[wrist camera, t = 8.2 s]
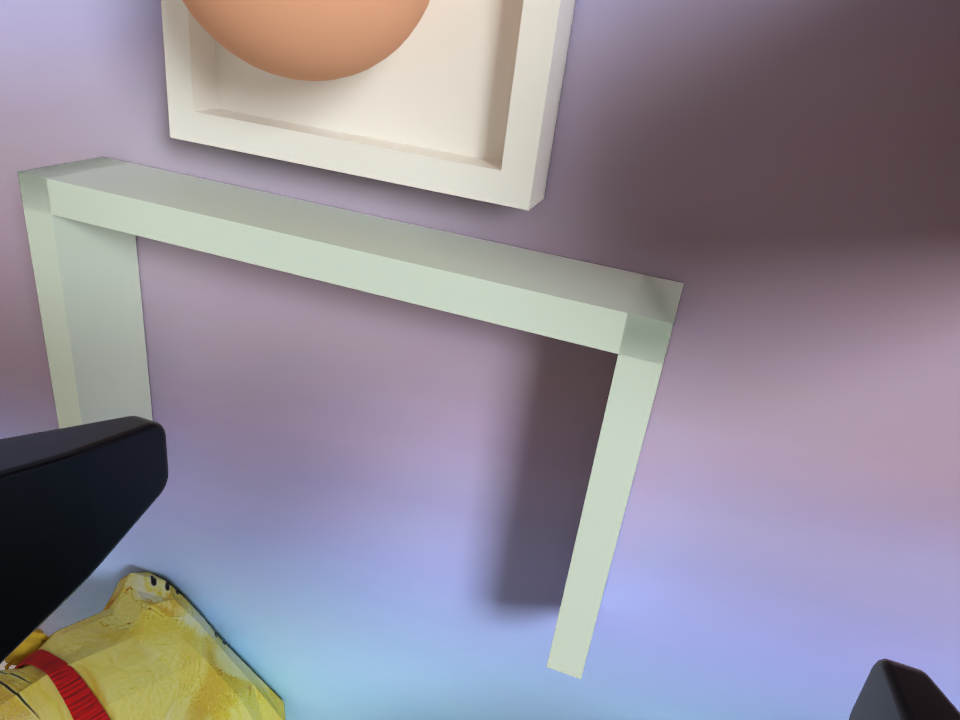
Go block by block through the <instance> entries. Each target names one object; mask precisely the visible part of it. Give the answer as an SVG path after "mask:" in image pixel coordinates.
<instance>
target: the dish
mask: <svg viewBox="0 0 960 720" xmlns="http://www.w3.org/2000/svg"><path fill="white" fill-rule="evenodd" d="M575 2H576V0H430V2H429V5H428V6H427V8H426V10H425V12H424V14H423V16H422V18H421V20H420V21H419V23H418V24H417V26H416V27H415V29H414V30H413V31H412V33H411V34H410V36H409V37H408V38H407V39H406V40H405V41H404V42H403V44H402V45H401V46H400V47H399V48H398V49H397V50H395V51H394V52H393V53H392V54H391V55H389V56H388V57H387V58H386V59H384V60H382V61H381V62H379V63H377V64H376V65H374V66H372V67H371V68H369V69H367V70H365V71H362V72H360V73H358V74H355V75H352V76H348V77H343V78H339V79H335V80H327V81H305V80H294V79H289V78H285V77H281V76H277V75H274V74H271V73H268V72H266V71H263V70H261V69H258V68H256V67H254V66H252V65H250V64H249V63H247V62H245V61H244V60H242V59H240V58H238V57H237V56H235V55H234V54H232V53H231V52H229V51H228V50H227V49H225V48H224V47H223V46H222V45H220V44H219V43H218V42H217V41H216V40H215V39H214V38H213V37H212V36H211V35H210V34H209V33H208V32H207V31H206V30H205V29H204V28H203V27H202V26H201V25H200V24H199V23H198V21H197V20H196V19H195V18H194V17H193V15H192V14H191V13H190V12H189V10H188V8H187V7H186V5H185V4H184V2H183V1H182V0H161V9H162V24H163V39H164V54H165V68H166V83H167V98H168V113H169V127H170V138H175V139H180V140H185V141H190V142H195V143H200V144H205V145H210V146H214V147H219V148H224V149H229V150H234V151H239V152H244V153H249V154H254V155H259V156H263V157H268V158H273V159H278V160H283V161H288V162H293V163H298V164H303V165H308V166H313V167H317V168H322V169H327V170H332V171H337V172H342V173H347V174H352V175H357V176H362V177H367V178H371V179H376V180H381V181H386V182H391V183H396V184H401V185H406V186H411V187H416V188H420V189H425V190H430V191H435V192H440V193H445V194H450V195H455V196H460V197H465V198H470V199H474V200H479V201H484V202H489V203H494V204H499V205H504V206H509V207H514V208H519V209H523V210H528V211H529V210H530V209H531V208H532V207H534V206H535V205H536V204H538V203H539V202H540V201H542V200H543V199H544V195H545V189H546V183H547V176H548V170H549V164H550V158H551V151H552V145H553V139H554V133H555V127H556V120H557V114H558V108H559V102H560V95H561V89H562V83H563V77H564V71H565V64H566V58H567V52H568V46H569V40H570V33H571V27H572V21H573V15H574V8H575Z"/></svg>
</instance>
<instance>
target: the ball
mask: <svg viewBox="0 0 960 720" xmlns="http://www.w3.org/2000/svg"><path fill="white" fill-rule="evenodd" d="M182 1H183V2H184V4H185V5H186V7H187V8H188V10H189V12H190V13H191V14H192V15H193V17H194V18H195V19H196V20H197V21H198V23H199V24H200V25H201V26H202V27H203V28H204V29H205V30H206V31H207V32H208V33H209V34H210V35H211V36H212V37H213V38H214V39H215V40H216V41H217V42H218V43H219V44H220V45H222V46H223V47H224V48H225V49H227V50H228V51H229V52H231V53H232V54H234V55H235V56H237V57H238V58H240V59H242V60H244V61H245V62H247V63H249V64H250V65H252V66H254V67H256V68H258V69H261V70H263V71H266V72H268V73H271V74H274V75H277V76H281V77H285V78H289V79H294V80H305V81H327V80H335V79H339V78H343V77H348V76H352V75H355V74H358V73H360V72H362V71H365V70H367V69H369V68H371V67H372V66H374V65H376V64H377V63H379V62H381V61H382V60H384V59H386V58H387V57H388V56H389V55H391V54H392V53H393V52H394V51H395V50H397V49H398V48H399V47H400V46H401V45H402V44H403V42H404V41H405V40H406V39H407V38H408V37H409V36H410V34H411V33H412V31H413V30H414V29H415V27H416V26H417V24H418V23H419V21H420V20H421V18H422V16H423V14H424V12H425V10H426V8H427V6H428V5H429V2H430V0H182Z"/></svg>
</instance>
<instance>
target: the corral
mask: <svg viewBox="0 0 960 720" xmlns="http://www.w3.org/2000/svg"><path fill="white" fill-rule="evenodd" d="M18 177H19V184H20V190H21V196H22V202H23V208H24V215H25V221H26V227H27V233H28V239H29V245H30V252H31V258H32V264H33V270H34V276H35V282H36V289H37V295H38V301H39V307H40V313H41V319H42V326H43V332H44V338H45V344H46V350H47V357H48V363H49V369H50V375H51V381H52V387H53V394H54V400H55V406H56V412H57V418H58V424H59V429H61V428H66V427H72V426H77V425H83V424H88V423H94V422H99V421H105V420H110V419H116V418H121V417H127V416H139V417H142V418H145V419H148V420H151V421H153V417H152V406H151V396H150V385H149V374H148V364H147V353H146V342H145V332H144V321H143V310H142V300H141V289H140V278H139V268H138V257H137V247H136V236H135V235H137V236H141V237H145V238H149V239H153V240H157V241H161V242H165V243H170V244H174V245H178V246H182V247H186V248H190V249H194V250H198V251H202V252H206V253H210V254H214V255H218V256H222V257H226V258H230V259H234V260H239V261H243V262H247V263H251V264H255V265H259V266H263V267H267V268H271V269H275V270H279V271H283V272H287V273H291V274H295V275H299V276H303V277H308V278H312V279H316V280H320V281H324V282H328V283H332V284H336V285H340V286H344V287H348V288H352V289H356V290H360V291H364V292H368V293H372V294H376V295H381V296H385V297H389V298H393V299H397V300H401V301H405V302H409V303H413V304H417V305H421V306H425V307H429V308H433V309H437V310H441V311H445V312H450V313H454V314H458V315H462V316H466V317H470V318H474V319H478V320H482V321H486V322H490V323H494V324H498V325H502V326H506V327H510V328H514V329H519V330H523V331H527V332H531V333H535V334H539V335H543V336H547V337H551V338H555V339H559V340H563V341H567V342H571V343H575V344H579V345H583V346H588V347H592V348H596V349H600V350H604V351H608V352H612V353H616V354H618V358H617V362H616V366H615V371H614V375H613V380H612V384H611V388H610V393H609V397H608V401H607V406H606V410H605V414H604V419H603V423H602V428H601V432H600V436H599V441H598V445H597V449H596V454H595V458H594V463H593V467H592V471H591V476H590V480H589V484H588V489H587V493H586V497H585V502H584V506H583V511H582V515H581V519H580V524H579V528H578V532H577V537H576V541H575V546H574V550H573V554H572V559H571V563H570V567H569V572H568V576H567V580H566V585H565V589H564V594H563V598H562V602H561V607H560V611H559V615H558V620H557V624H556V629H555V633H554V637H553V642H552V646H551V650H550V655H549V659H548V663H547V667H548V668H551V669H554V670H557V671H559V672H562V673H565V674H568V675H570V676H573V677H576V678H579V679H581V676H582V673H583V669H584V665H585V661H586V657H587V653H588V650H589V646H590V642H591V638H592V634H593V630H594V627H595V623H596V619H597V615H598V611H599V607H600V604H601V600H602V596H603V592H604V588H605V585H606V581H607V577H608V573H609V569H610V565H611V562H612V558H613V554H614V550H615V546H616V542H617V539H618V535H619V531H620V527H621V523H622V519H623V516H624V512H625V508H626V504H627V500H628V497H629V493H630V489H631V485H632V481H633V477H634V474H635V470H636V466H637V462H638V458H639V454H640V451H641V447H642V443H643V439H644V435H645V431H646V428H647V424H648V420H649V416H650V412H651V409H652V405H653V401H654V397H655V393H656V389H657V386H658V382H659V378H660V374H661V370H662V366H663V363H664V359H665V355H666V351H667V347H668V343H669V340H670V336H671V332H672V328H673V324H674V320H675V317H676V313H677V309H678V305H679V301H680V297H681V293H682V289H683V285H684V283H680V282H676V281H671V280H666V279H662V278H657V277H653V276H648V275H643V274H639V273H634V272H630V271H625V270H620V269H616V268H611V267H607V266H602V265H597V264H593V263H588V262H584V261H579V260H574V259H570V258H565V257H561V256H556V255H551V254H547V253H542V252H538V251H533V250H528V249H524V248H519V247H515V246H510V245H505V244H501V243H496V242H492V241H487V240H482V239H478V238H473V237H469V236H464V235H460V234H455V233H450V232H446V231H441V230H437V229H432V228H427V227H423V226H418V225H414V224H409V223H404V222H400V221H395V220H391V219H386V218H381V217H377V216H372V215H368V214H363V213H358V212H354V211H349V210H345V209H340V208H335V207H331V206H326V205H322V204H317V203H312V202H308V201H303V200H299V199H294V198H289V197H285V196H280V195H276V194H271V193H266V192H262V191H257V190H253V189H248V188H243V187H239V186H234V185H230V184H225V183H220V182H216V181H211V180H207V179H202V178H197V177H193V176H188V175H184V174H179V173H174V172H170V171H165V170H161V169H156V168H151V167H147V166H142V165H138V164H133V163H128V162H124V161H119V160H115V159H110V158H105V157H98V158H93V159H87V160H81V161H76V162H70V163H64V164H59V165H53V166H47V167H42V168H36V169H30V170H25V171H19V172H18Z"/></svg>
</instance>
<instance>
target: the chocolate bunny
mask: <svg viewBox="0 0 960 720" xmlns="http://www.w3.org/2000/svg"><path fill="white" fill-rule="evenodd" d="M5 661H6V663H8V664H7V665H6V666H5V670H1V671H0V720H285V709H284V702H283V701H282V700H281V699H280V698H279V697H278V696H277V695H276V694H275V693H274V692H273V691H272V690H271V689H270V688H269V687H268V686H267V685H266V684H265V683H264V682H263V681H262V680H261V679H260V678H259V677H258V676H257V675H256V674H255V673H254V672H253V671H252V670H251V669H250V668H249V667H248V666H247V665H246V664H245V663H244V662H243V661H242V660H241V659H240V658H239V657H238V656H237V655H236V654H235V653H234V652H233V651H232V650H231V649H230V648H229V647H228V646H227V645H226V644H225V643H224V642H223V641H222V640H221V639H220V638H219V636H218V635H217V634H216V633H215V632H214V630H213V629H212V628H211V627H210V625H209V624H208V623H207V622H206V620H205V619H204V618H203V617H202V616H201V615H200V614H199V613H198V612H197V610H196V609H195V608H194V607H193V606H192V605H191V604H190V603H189V602H188V601H187V600H186V599H185V598H184V597H183V596H182V595H181V594H180V593H179V592H178V591H176V590H175V589H174V588H173V587H172V586H171V585H170V584H169V583H168V582H166V581H165V580H163V579H161V578H159V577H157V576H155V575H154V574H152V573H150V572H141V573H130V574H128V575H127V576H125V577H124V578H122V579H121V580H120V581H119V583H118V585H117V587H116V589H115V591H114V593H113V594H112V596H111V598H110V600H109V601H108V603H107V605H106V606H105V608H104V610H103V611H102V612H100V613H98V614H96V615H93V616H91V617H89V618H86V619H84V620H82V621H79V622H77V623H75V624H72V625H70V626H67V627H65V628H63V629H60V630H58V631H56V632H55V633H53V634H52V635H50V636H49V637H47V635H46V634H44V633H43V632H42V630H40V629H36V630H35V631H34V632H32V633H31V634H30V635H29V636H28V637H27V638H26V639H25V640H24V641H23V642H22V643H21V644H20V645H19V646H18V647H17V648H16V649H15V650H14V651H13V652H12V653H11V654H10V655H9V656H8V657H7V658H6V659H5ZM11 665H17V666H16V667H15V668H14V669H10V670H8V669H9V666H11Z"/></svg>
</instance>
